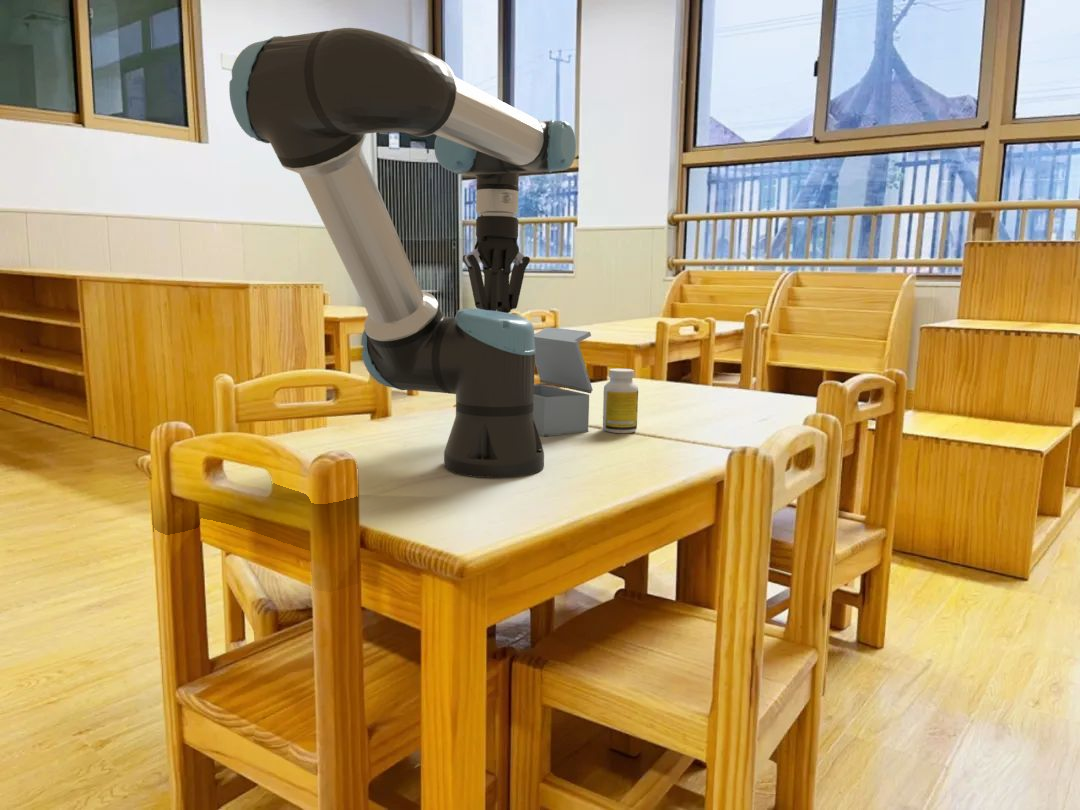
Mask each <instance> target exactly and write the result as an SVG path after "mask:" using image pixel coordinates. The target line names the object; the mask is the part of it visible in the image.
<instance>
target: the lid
mask: <svg viewBox="0 0 1080 810" xmlns="http://www.w3.org/2000/svg"><path fill="white" fill-rule="evenodd" d="M590 337H592V333H591V332H590V331H585V330H577V329H568V328H559V327H549V326H546V327H545V328H543V329H541V330H538V331H537V332H534V338H535V347H536V352H535V365H534V366H535V367H536V370H537V373H538V376H539V383H541V384H544V385H548V386H553V387H558V388H562V389H567V390H571V391H576V392H581V393H585V394H591V393H592V391H593V387H592V383H591V380H590V377H589V373H588V370H587V367H586V363H585V360H584V357H583V354H582V350H581V347H580V342H582V341H584V340H586V339H588V338H590Z"/></svg>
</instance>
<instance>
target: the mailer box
mask: <svg viewBox="0 0 1080 810" xmlns="http://www.w3.org/2000/svg"><path fill="white" fill-rule="evenodd" d="M589 412H590V394H589V393H585V392H580V391H576V390H571V389H566V388H562V387H557V386H553V385H548V384H544V383H541V384H534V404H533V416H534V421H535V424H536V428H537V431H538V434H539V437H540V436H541V437H544V438H545V437H551V436H552V437H554V436H561V435H562V436H563V435H570V434H571V435H572V434H579V433H587V432H589V423H590V422H589V419H590V418H589V416H590V413H589Z"/></svg>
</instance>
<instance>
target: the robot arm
mask: <svg viewBox="0 0 1080 810" xmlns="http://www.w3.org/2000/svg"><path fill="white" fill-rule="evenodd" d="M228 85H229V87H228V88H229V91H228V92H229V100H230V105H231V109H232V113H233V116H234V118H235V120H236V122H237V123H238V125H239V126H240V128H241V130H243V132H244V133H245V134H246V135H247V136H248V137H250V138H253V139H255V141H258V142H261V143H264V144H270V145H271V147H272V148H273V151H274V152H275V155H276V157H277V159H278V161H279V163H280V164H281V167H283V168H284V169H285V170H289V171H291V172H294V173H297V174H299V177H300V178H301V181H302V182H303V185H304V186H305V188H306V191H307V192H308V194H309V197H310V199H311V201H312V203H313V205H314V206H315V209H316V210H317V213H318V215H319V217H320V219H321V221H322V223H323V225H324V228H325V229H326V231H327V233H328V235H329V238H330V239H331V242H332V244H333V245H334V247H335V249H336V251H337V254H338V256H339V258H340V260H341V261H342V264H343V265H344V268H345V269H346V272H347V274H348V276H349V277H350V280H351V281H352V284H353V286H354V287H355V290H356V292H357V294H358V296H359V298H360V300H361V302H362V304H363V306H364V309H365V311H366V312H367V316H366V318H365V320H364V323H363V325H364V326H363V327H364V329H363V332H362V334H361V340H360V341H361V342H360V345H361V346H362V347H363V350H361V357H362V358H361V359H362V361H363V364H364V366H365V369H366V370H367V372H368V373H369V374H370V377H372V378H373V379H374V380H375V382H377V383H379V384H380V385H382V386H384V387H388V388H392V389H393V388H394V389H396V390H400V391H417V392H418V391H419V392H428V393H440V394H443V393H444V394H450V395H451V394H452V395H455V418H454V421H453V424H452V427H451V430H450V433H449V435H448V439H447V442H446V446H445V448H444V451H443V467H444V469H446V470H448V471H449V472H451V473H455V474H458V475H461V476H462V475H463V476H468V477H469V476H470V477H477V478H478V477H479V478H513V477H521V476H527V475H528V476H529V475H532V474H536V473H538V472H541V471H542V470H543V469H544V468H545V451H544V448H543V444H542V441H541V438H540V435H539V434H538V431H537V428H536V424H535V421H534V416H533V404H534V385H535V366H536V365H535V352H536V347H535V338H534V334H535V328H534V325H533V323H532V322H531V321H530V320H529V319H527V318H526V317H523V316H521V315H518V314H514V313H511V312H512V310H516V309H517V308H518V304H519V299H520V296H521V295H520V294H521V289H522V286H523V281H524V276H525V271H526V269H527V266H528V265H529V263H530V261H531V258H530V257H529V256H528V255H527V256H526V255H524V254H522V252H520V247H519V245H518V237H519V219H518V217H516V215H518V214H519V193H520V192H519V191H520V190H519V181H520V179H519V177H520V173H545V172H546V173H553V172H560V171H566V170H568V169H570V167H571V166H572V165H573V163H574V161H575V158H576V149H577V143H576V136H575V135H576V134H575V132H574V129H573V127H572V125H571V124H570V123H569V122H568V121H565V120H553V119H550V120H546V121H545V120H544V121H542V120H539V119H537V118H534V117H532V115H531V116H530V115H529V114H527V113H525V112H523V111H521V110H519V109H517V108H515V107H514V106H511V105H509V104H508V103H506V102H503V101H502V100H500V99H498V98H497V97H495V96H492V95H490V94H489V93H487V92H485V91H483V90H481V89H479V88H477V87H475V86H474V85H472V84H469V83H468V82H465V81H464V80H462V79H460V78H458V77H457V76H455V75H454V72H453V70H452V69H451V67H450V66H449V65H448V64H447V63H446V62H445V61H444V60H442V59H441V58H439V57H438V56H435V55H434V54H431V53H430V52H427V51H426V50H424V49H422V48H420V47H417V46H415V45H413V44H411V43H408V42H406V41H403V40H400V39H398V38H395V37H393V36H390V35H387V34H384V33H380V32H376V31H374V30H370V29H369V30H368V29H365V28H364V29H363V28H360V27H359V28H357V27H342V28H335V29H334V28H333V29H330V30H322V31H317V32H310V33H309V32H308V33H304V34H303V33H302V34H296V35H295V34H294V35H288V36H283V35H282V36H281V35H278V36H275V35H274V36H272V37H270V38H268V39H266V40H265V39H264V40H259V41H257V42H253V43H251V44H249V45H248V46H246V47H245V48H244V49H243V50H241V51H240V52H239V54H238V56H237V57H236V59H235V61H234V63H233V65H232V69H231V79H230V81H229V84H228ZM377 133H405V134H409V135H411V136H415V137H421V138H422V137H428V136H432V135H435V136H436V138H435V140H434V146H433V147H434V149H433V150H434V155H435V158H436V161H437V162H438V164H439V165H440V166H441V167H442V168H444V169H445V170H446V171H449V172H452V173H455V175H465V176H470V177H476V178H475V179H476V182H475V183H476V184H475V185H476V187H475V188H476V189H475V190H476V193H475V196H476V197H475V212H476V214H478V215H479V216H477V218H475V235H476V237H475V238H476V243H475V245H474V250H472V251H471V252H470V253H468V254H464V255H463V256H462V261H463V263H464V264H465V266H466V267H467V272H468V276H469V281H470V286H471V290H472V291H471V292H472V295H473V296H472V297H473V300H474V306H475V308H459V309H457V311H456V314H455V316H453V317H452V316H451V317H450V316H444V314H443V312H442V310H441V307H440V305H439V303H438V301H437V299H436V297H435V296H434V295H433V294H431V293H430V292H426V291H422V289H421V287H420V284H419V281H418V280H417V276H416V275H415V273H414V270H413V267H412V265H411V262H410V261H409V260H410V259H409V258H408V256H407V254H406V251H405V248H404V247H403V243H402V242H401V240H400V237H399V235H398V232H397V230H396V228H395V225H394V223H393V221H392V219H391V215H390V214H389V211H388V209H387V207H386V206H387V205H386V204H385V202H384V199H383V197H382V194H381V193H380V190H379V187H378V185H377V183H376V181H375V179H374V176H373V174H372V171H371V169H370V167H369V164H368V162H367V159H366V158H365V155H364V154H363V153H364V152H363V151H362V146H363V145H364V141H365V139H366V137H367V134H377ZM480 262H481V264H482V268H481V266H480ZM512 264H513V266H512ZM511 268H512V270H511ZM481 269H482V270H481ZM482 272H483V274H484V275H482Z"/></svg>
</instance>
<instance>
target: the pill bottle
mask: <svg viewBox="0 0 1080 810" xmlns="http://www.w3.org/2000/svg"><path fill="white" fill-rule="evenodd" d="M608 377H609V381H608V382H606V384H605V385H604V386H603V404H602V405H603V406H602V407H603V408H602V410H603V411H602V415H603V416H602V428H603V430H604V431H606V432H608V433H612V434H613V433H614V434H629V433H630V434H631V433H635V431H637V430H638V410H639V409H638V406H639V405H638V403H639V386H638V385H637V384H636V383H635V382H634V381H633V378H635V370H634V369H631V368H610V369H609V370H608Z"/></svg>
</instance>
